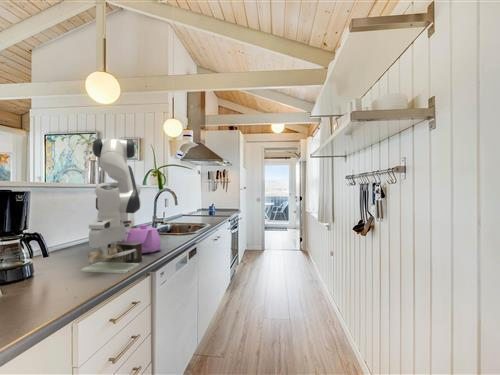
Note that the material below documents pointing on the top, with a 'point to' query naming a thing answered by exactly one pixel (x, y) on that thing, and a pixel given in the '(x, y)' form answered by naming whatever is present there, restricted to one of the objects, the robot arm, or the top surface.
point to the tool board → (110, 267)
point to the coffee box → (128, 258)
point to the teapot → (145, 238)
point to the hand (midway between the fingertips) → (109, 253)
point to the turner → (112, 253)
